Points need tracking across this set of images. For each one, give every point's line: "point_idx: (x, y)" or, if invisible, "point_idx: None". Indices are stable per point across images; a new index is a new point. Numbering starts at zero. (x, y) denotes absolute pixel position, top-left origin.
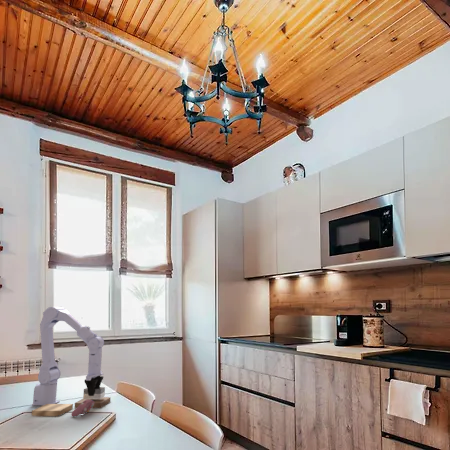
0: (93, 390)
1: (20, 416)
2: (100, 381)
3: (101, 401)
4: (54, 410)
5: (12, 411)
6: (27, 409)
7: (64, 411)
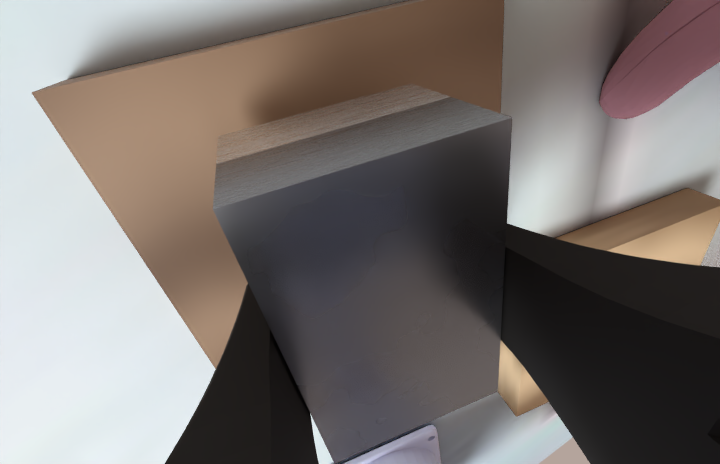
0: (533, 236)
1: None
2: (269, 460)
3: (404, 49)
4: (702, 246)
5: (541, 445)
6: (509, 436)
7: (642, 216)
